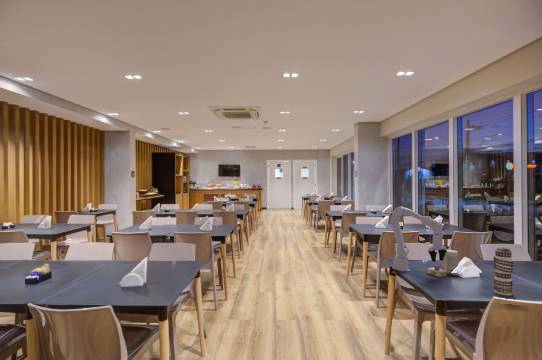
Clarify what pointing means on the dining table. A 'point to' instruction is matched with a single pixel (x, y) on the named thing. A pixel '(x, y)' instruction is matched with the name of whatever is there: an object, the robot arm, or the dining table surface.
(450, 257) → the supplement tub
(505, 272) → the decorative candle
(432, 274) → the box
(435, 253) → the robot arm
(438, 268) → the lid
